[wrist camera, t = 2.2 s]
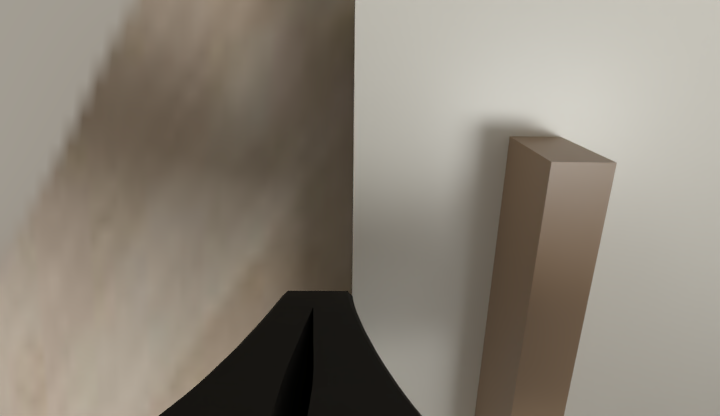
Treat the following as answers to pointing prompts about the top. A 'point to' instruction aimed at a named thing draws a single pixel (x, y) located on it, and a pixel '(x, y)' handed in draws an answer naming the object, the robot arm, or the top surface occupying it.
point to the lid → (540, 204)
